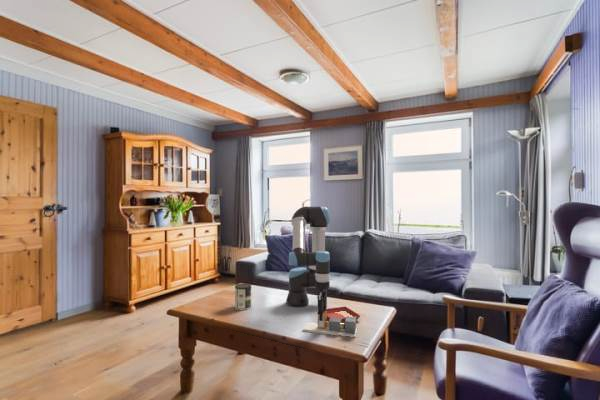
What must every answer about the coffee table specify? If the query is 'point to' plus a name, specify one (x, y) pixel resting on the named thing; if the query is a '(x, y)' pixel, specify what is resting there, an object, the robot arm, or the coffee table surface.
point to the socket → (350, 325)
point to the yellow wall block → (326, 323)
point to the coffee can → (242, 296)
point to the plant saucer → (335, 315)
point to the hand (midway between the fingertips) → (322, 324)
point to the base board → (325, 330)
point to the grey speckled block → (335, 324)
